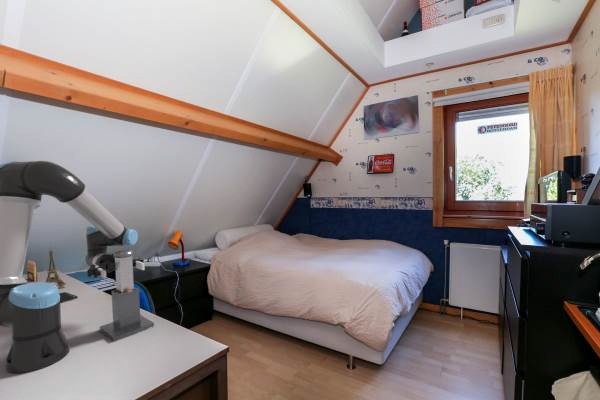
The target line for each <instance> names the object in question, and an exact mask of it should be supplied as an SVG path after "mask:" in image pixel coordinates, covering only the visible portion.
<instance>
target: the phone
mask: <svg viewBox="0 0 600 400" xmlns="http://www.w3.org/2000/svg"><path fill="white" fill-rule="evenodd" d="M59 295H60V304H63V303H66V302H69V301H73V300H77V299H78V295H75V294H71V293H69V292H66V291H63V292H59Z"/></svg>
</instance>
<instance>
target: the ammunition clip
mask: <svg viewBox="0 0 600 400" xmlns="http://www.w3.org/2000/svg"><path fill="white" fill-rule="evenodd" d="M26 276H27V280H28V281H31V282H32V283H36V282H38V273H37V267H36V262H35V261H33V260H30V259H28V261H27V273H26Z"/></svg>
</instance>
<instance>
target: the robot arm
mask: <svg viewBox="0 0 600 400" xmlns="http://www.w3.org/2000/svg"><path fill="white" fill-rule="evenodd" d="M86 188H87V187H86V184H85V183H84V182H83V181H82V180H81V179H80V178H78V177H77V176H76V175H75V174H74V173H72V172H71V171H69V170H68V169H67V168H65V167H63V166H61V165H60V164H57V163H54V162H52V161H48V160H37V161H36V160H35V161H34V160H33V161H11V162H5V163H1V164H0V328H11V336H12V337H11V339H12V340H11V341H12V342H11V345H10V348H9V351H8V354H7V357H6V360H5V370H6V371H7V372H8V373H11V374H23V373H29V372H34V371H37V370H41V369H44V368H46V367H48V366H50V365H53V364H55V363H57V362H59V361H60V360H63V358H65V357H66V356H67V355H68V354H69V353H70V342H69V341H68V339H67V337H66V334H65V333H64V331H63V329H62V313H61V312H62V311H61V303H60V295H59V293H60V292H59V290H60V289H58V287H59V286H58V285H56V284H54V283H53V282H52V283H46V281H44V282H43V281H39V282H29V283H28V281H27V280H26V278H25V277H24V276H23V274H24V268H25V263H26V256H27V251H28V246H29V239H30V235H31V234H30V233H31V227H32V223H33V222H32V221H33V216H34V211H35V207H36V206H37V205H40V204H41V202H42V197H43V196H44V195H45V196H49V197H53V198H54V199H56V200H57V201H59V202H60V203H63V204H67V205H68V206H70V207H71V208H72V209H73V210H74V211H75V212H76V213H78V215H80V216H81V217H83V219H85V220H86V221H87V222H88V223H90V224H91V225H87V227H86V235H85V236H86V250H87V251H86V253H87V254H86V255H85V257H84V262H85V264H86V265H87V266H89V268H88V269H86V271H87V272H86V273H87V277H88V278H90V277H92V276H93V278H96V279H97V278H98V277H100V278H102V279H107V274H108V273H112V272H113V271H116V269H115V258H114V256H113V254H111V253H108V247H132V246H134V245H136V243H137V242H138V239H139V234H138V232H137V230H135V229H133V228H127V227H125V226H124V225H123V224H122V223H121V222H120V221H119V220H118V219H117V218H116V217H115V216H113V214H111V212H110V211H109V210H108V209H107V208H106V207H104V206H103V205H102V203H100V202H99V201H98V200H97V199H96V198H95V197H94V196H93V195H92V194H91V193H90V192H89V191H88V190H87V189H86ZM132 263H133V268H136V269H139V270H141V271H145V270H146V269H145V268H146V267H145V265H146V264H145V260H144V259H141V258H132Z"/></svg>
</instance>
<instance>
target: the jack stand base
mask: <svg viewBox="0 0 600 400" xmlns="http://www.w3.org/2000/svg"><path fill="white" fill-rule="evenodd" d="M140 304H141V303H140V289H139V288H137V287H135V286H134V290H132V289H130V290H127V292H124V293H118V292H117V288H116V289H114V290H111V306H112V310H111V311H112V322H108V323H106V324H103V325H100V326H99V332H101V333H102V334H104V336H106V338H107V337H108V339H110V340H111V341H112V342H117V341H120V340H123V339H126V338H128V337H130V336H133V335H135V334H138V332H139V333H141V332H144V331H146V329H147V330H149V329H151V328H150V327H152V328H154V327H155V322H153V321H151V320H150V319H149V318H147V317H145V316H143V315H141V310H140V309H141V307H140ZM153 326H154V327H153ZM148 328H149V329H148ZM143 330H144V331H143Z"/></svg>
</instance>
